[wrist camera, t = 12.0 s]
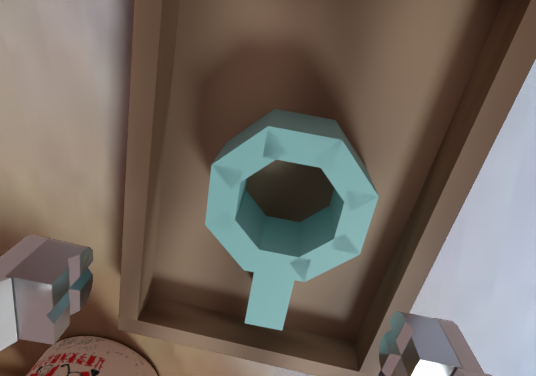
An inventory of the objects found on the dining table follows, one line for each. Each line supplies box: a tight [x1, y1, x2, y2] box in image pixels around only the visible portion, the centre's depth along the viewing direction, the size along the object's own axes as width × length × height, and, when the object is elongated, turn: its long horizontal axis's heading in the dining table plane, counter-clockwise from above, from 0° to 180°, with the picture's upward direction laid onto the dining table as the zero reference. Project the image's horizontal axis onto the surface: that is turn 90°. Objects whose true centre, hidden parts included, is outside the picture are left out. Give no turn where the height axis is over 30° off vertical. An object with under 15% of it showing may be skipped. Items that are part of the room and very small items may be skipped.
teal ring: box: [205, 109, 379, 331], centre depth 16 cm, size 10×6×3 cm
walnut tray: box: [118, 0, 536, 376], centre depth 17 cm, size 14×20×2 cm
